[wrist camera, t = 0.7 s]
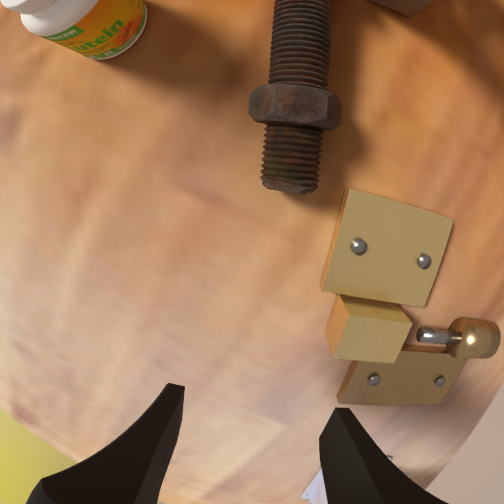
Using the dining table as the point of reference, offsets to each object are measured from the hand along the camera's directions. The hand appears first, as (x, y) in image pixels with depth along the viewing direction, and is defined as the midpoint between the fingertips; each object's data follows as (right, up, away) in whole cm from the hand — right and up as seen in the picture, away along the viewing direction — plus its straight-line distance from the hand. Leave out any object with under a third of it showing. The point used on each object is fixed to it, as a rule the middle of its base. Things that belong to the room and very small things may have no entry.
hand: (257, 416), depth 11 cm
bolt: (+2, +18, +6) cm, 19 cm away
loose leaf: (+9, +5, +9) cm, 13 cm away
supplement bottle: (-10, +22, +4) cm, 24 cm away
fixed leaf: (+13, -2, +11) cm, 18 cm away
